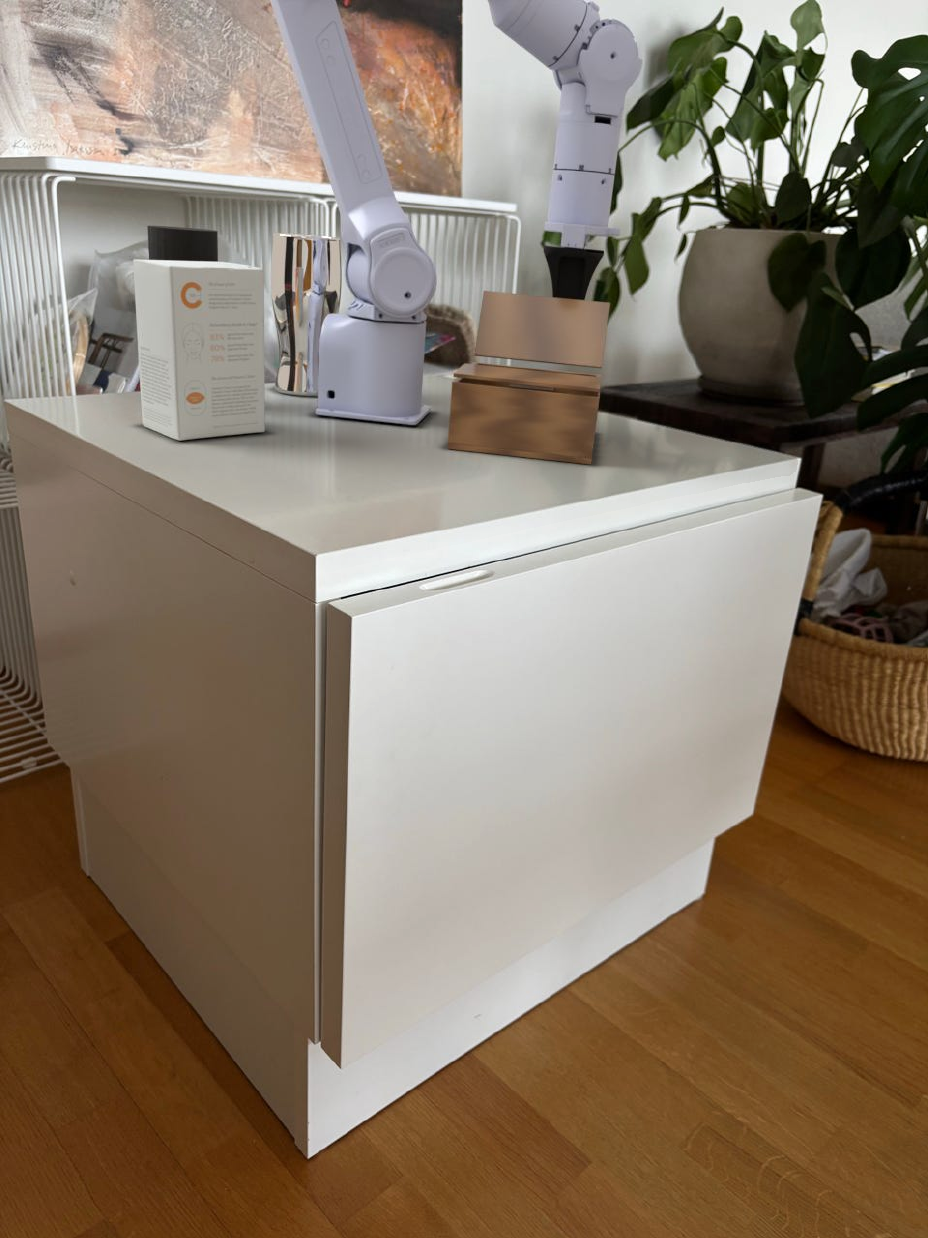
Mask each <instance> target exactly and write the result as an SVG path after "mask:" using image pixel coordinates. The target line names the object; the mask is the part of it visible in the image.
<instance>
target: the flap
mask: <svg viewBox="0 0 928 1238" xmlns="http://www.w3.org/2000/svg"><path fill="white" fill-rule="evenodd" d="M610 309H611V302H607V301H595V300H587V299H585V300H576V299H565V298H554V297H552V296H544V295H543V296H542V295H533V294H532V295H531V294H522V293H511V292H501V291H500V292H499V291H492V290H491V291H489V290H483V293H482V299H481V306H480V313H479V321H478V326H477V328H478V329H477V333H476V341H475V346H474V347H475V348H474V356H475V357H485V358H493V359H505V360H513V361H524V362H533V363H544V364H552V365H563V366H573V367H582V368H590V369H591V368H592V369H602V368H603V362H604V355H605V354H604V353H605V348H606V347H605V346H606V338H607V331H608V325H609V324H608V323H609V317H610Z"/></svg>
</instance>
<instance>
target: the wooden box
mask: <svg viewBox="0 0 928 1238" xmlns="http://www.w3.org/2000/svg"><path fill="white" fill-rule="evenodd" d="M452 376H453V378H455V379H454V380H453V381H452V382H451V393H450V394H451V395H450V408H449V421H448V434H447V449H448V450H456V451H465V452H473V453H483V454H490V455H492V454H493V455H500V456H509V457H519V458H528V459H537V460H544V461H554V462H562V463H571V464H572V463H573V464H579V465H580V464H582V465H592V460H593V459H592V458H593V451H594V443H595V436H596V429H597V421H598V413H599V406H600V400H601V399H600V398H601V385H602V375H601V374H594V373H587V372H586V373H585V372H575V371H567V370H555V369H546V368H536V367H527V366H519V365H508V364H498V363H497V364H496V363H489V362H488V363H487V362H477V361H473V362H471V363H464V364H462V365H461V366H460V367H459V368H458V369H457V370H456V371H454V372H453V375H452ZM510 383H516V384H526V385H535V386H545V387H554V388H555V392H551V391H541V390H531V389H522V388H512V387H508V386H509V385H510Z"/></svg>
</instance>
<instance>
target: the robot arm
mask: <svg viewBox="0 0 928 1238" xmlns="http://www.w3.org/2000/svg"><path fill="white" fill-rule="evenodd" d="M269 2H270V6H271V8H272V12H273V15H274V18H275V21H276V24H277V27H278V30H279V32H280V33H279V34H280V36H281V39H282V41H283V45H284V47H285V51H286V54H287V56H288V60H289V63H290V66H291V69H292V72H293V75H294V78H295V81H296V84H297V87H298V90H299V92H300V96H301V99H302V102H303V105H304V108H305V111H306V115H307V117H308V120H309V124H310V127H311V129H312V133H313V136H314V138H315V142H316V144H317V148H318V151H319V153H320V156H321V160H322V163H323V166H324V168H325V172H326V176H327V177H328V180H329V184H330V187H331V189H332V193H333V196H334V199H335V202H336V205H337V208H338V211H339V214H340V215H339V217H340V236H341V240H342V243H343V245H344V249H345V264H344V279H345V283H346V286H347V288H348V290H349V292H350V293H351V295H352V296H353V297H354V298H352V300H351V302H350V303H349V305H348V306H347V311H346V312H347V313H346V314H345V313H344V314H343V313H339V314H328V315H327V316H326V317H325V319H324V321H323V324H322V328H321V333H320V341H319V372H318V396H317V408H316V409H315V414H316V415H317V416H325V417H326V416H327V417H334V418H335V417H336V418H344V419H345V418H346V419H353V420H354V419H355V420H361V421H362V420H363V421H370V422H371V421H372V422H380V423H382V422H383V423H390V424H398V425H400V424H401V425H408V426H417V425H418V424H419V423H420V422H421V421H422V420H423V419H424V418H425V417H426V416H427V415H428V414H429V413H430V412H431V406H429V405H423V404H422V398H423V397H422V396H423V383H424V382H423V381H424V364H425V348H426V333H427V321H426V320H427V318H428V317H427V316H428V315H427V313H425V312H424V310H425V309H426V308H427V307H428V306H429V305H430V303H431V302H432V299H433V297H434V296H435V293H436V289H437V285H438V284H437V279H438V278H437V270H436V267H435V263H434V261H433V259H432V257H431V256H430V255H429V254H428V252H427V251H426V250H425V249H424V248H423V247H422V246H421V244H420V243H419V242H418V240H417V238H416V236H415V234H414V231H413V227H412V224H411V222H410V220H409V218H408V217H407V214H406V213H405V211H404V210H403V208H402V206H401V205H400V203H399V201H398V199H397V198H396V195H395V191H394V189H393V185H392V182H391V178H390V175H389V172H388V168H387V165H386V162H385V159H384V155H383V152H382V149H381V146H380V142H379V138H378V136H377V132H376V130H375V125H374V123H373V120H372V116H371V111H370V109H369V106H368V103H367V99H366V96H365V93H364V89H363V86H362V83H361V79H360V76H359V73H358V69H357V66H356V63H355V59H354V57H353V53H352V50H351V47H350V43H349V40H348V36H347V34H346V30H345V26H344V23H343V20H342V18H341V13H340V10H339V7H338V4H337V3H338V2H337V1H336V0H269ZM487 2H488V5H489V10H490V11H489V12H490V14H491V19H492V23H493V25H494V27H495V28H497V29H498V30H499V31H501V32H502V33H503V34H504V35H506V36H507V37H508V38H509V39H511V40H512V41H513V42H515V43H516V44H517V45H518V46H520V47H521V48H522V49H523V50H525V51H526V52H528V53H529V54H530V55H531V56H533V57H534V58H535V59H536V60H537V61H539V62H540V63H542V64H543V65H544V66H545V67H546V68H548V69H549V70H550V71H552V76H553V79H554V82H555V84H556V86H557V88H558V89H559V91H560V99H559V100H560V102H559V111H558V115H557V116H558V117H557V126H556V134H555V146H554V155H553V165H552V172H551V183H550V191H549V198H548V199H549V200H548V209H547V210H548V211H547V220H546V221H545V222H544V227H543V230H544V232H549V233H550V232H551V233H558V234H561V240H560V246H552V245H544V246H543V254H544V258H545V260H546V263H547V266H548V270H549V275H550V282H551V295H552V296H551V297H554V298H565V299H576V300H586V296H587V292H588V290H589V286H590V283H591V281H592V278H593V276H594V274H595V271H596V269H597V268H598V266H599V264H600V263H601V261H602V260H603V258H604V256H605V250H603V249H602V250H601V249H592V248H585V247H587V246H588V244H589V240H590V239H591V236H592V237H593V236H594V237H604V238H605V237H606V238H608V237H610V236H612V237H613V236H615V237H619V236H620V233H621V228H620V227H619V228H617V227H609V221H610V215H611V205H612V200H613V189H614V182H615V175H616V167H617V160H618V152H619V144H620V136H621V128H622V121H623V112H624V108H625V102H626V101H625V100H626V96H627V93H628V91H629V89H631V87H632V86H633V85H634V84H635V82H636V81H637V79H638V77H639V76H640V73H641V70H642V66H643V59H642V58H640V57H639V49H638V44H637V42H636V41H635V36H634V34H633V32H632V31H631V29H630V28H629V27H628V26H627V24H625V23H624V22H622V21H620V20H617V19H616V18H612V19H609V18H605V19H604V18H603V19H601V17H600V13H599V11H600V6H599V5H598V4H596V2H594V1H593V0H590V1H588V2H587V1H585V0H487Z"/></svg>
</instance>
